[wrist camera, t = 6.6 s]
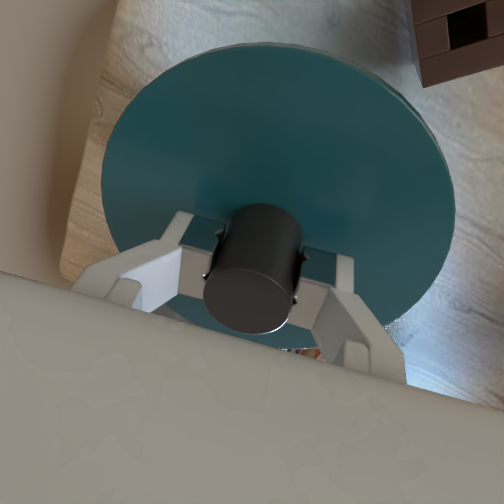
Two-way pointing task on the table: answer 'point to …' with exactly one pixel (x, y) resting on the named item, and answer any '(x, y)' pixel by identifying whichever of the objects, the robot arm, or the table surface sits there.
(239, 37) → the table surface
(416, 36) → the straw rack
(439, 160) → the can lid
